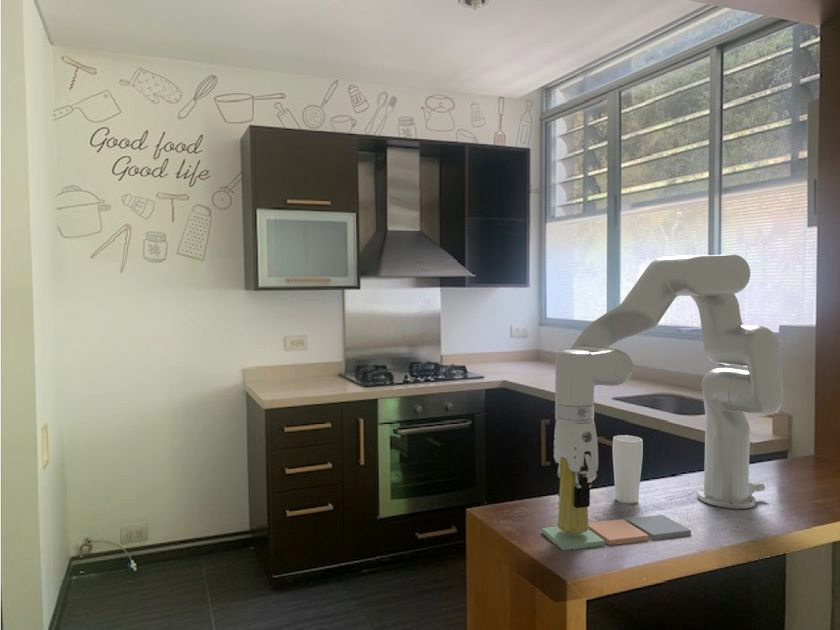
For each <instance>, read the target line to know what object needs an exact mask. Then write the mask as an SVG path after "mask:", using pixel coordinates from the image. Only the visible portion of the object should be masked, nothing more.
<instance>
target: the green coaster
mask: <svg viewBox="0 0 840 630" xmlns="http://www.w3.org/2000/svg"><path fill="white" fill-rule="evenodd" d="M541 534H543V535H544V536H545V537H546V538H548V539H549V541H551V542H552V543H553V544H554V545H555V546H557V547H558V548H560V549H561V550H562V551H570V550H571V549H573V550H578V549H579V548H581V549H588V547H589V548H597V547H603V546H605V544H606V543H605V540H603V539H602V538H600V537H599V536H597V535H596V534H595V533H593V532H592V531H590V530H589V529H588V530H587V531H586V532H583V533H569V532H565V531H563V530H561V529H559V528H558V525H556V526H550V527H542V528H541ZM579 550H580V549H579ZM571 551H572V550H571Z"/></svg>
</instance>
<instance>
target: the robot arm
mask: <svg viewBox="0 0 840 630" xmlns="http://www.w3.org/2000/svg"><path fill="white" fill-rule="evenodd" d="M750 278H751V268H750V265H749V264H748V261H747V260H746V259H745V258H744V257H742V256H740V255H738V254H732V253H730V254H715V255H714V254H712V255H706V254H705V255H703V254H701V255H699V254H697V255H696V254H695V255H694V254H693V255H674V256H662V257H658V258H656V259H654V260H653V261H651V262H650V263H649V264H648V265H647V267H646V268H645V270H644V271H643V273H642V274H641V275H640V277H639V278H638V279H637V281H636V283H634V286H633V287H632V288H631V290H630V291H629V292H628V293H627V295H626V297H625V298H624V300H623V301H622V302H621V303H619V304H618V305H617V306H615V307H614V308H612V309H610V310H608V311H607V312H606V313H604V314H602V315H601V316H600V317H598V318H596V319H595V320H594V321H592V322H591V323H590V324H588V325H587V326H586V327H585V328H584V329H583V331H582V332H581V333H580V334H579V336H578V337H577V338H576V339H575V341H574V342H573V344H572V346H571V347H570V349H565V350H560V351H558V353H557V354H556V356H555V377H554V379H555V384H554V385H555V388H554V389H555V392H554V393H555V394H554V395H555V397H554V399H555V401H554V403H555V404H554V405H555V406H554V408H555V409H554V414H555V415H554V418H555V425H554V436H553V437H554V438H553V458H554V461H555V465H556V469H557V477H558V479H557V480H558V482H557V483H558V485H557V487H558V488H557V489H558V497H559V492H560V457H562V458H563V459H565V460H567V462H568V467H569V470H571V471H573V472H574V476H575V482H576V487H574V507H575V508H582V507H587V508H588V507H590V505H591V503H590V502H591V498H590V497H591V492H590V491H591V488H592V484H593V482H594V480H596V479H597V477H598V474H597V473H598V469H599V446H598V436H597V429H596V422H595V386H607V387H615V386H616V387H617V386H622V385H623V384H625V383H626V382H627V381H629V379H631V377H632V374H633V373H634V363H633V360H632V358H631V357H630V356H629V355H628V353H626V352H624V351H622V350H620V349H616V348H610V347H611V346H613V345H614V344H616V343H618V342H619V341H622V340H625V339H627V338H630V337H633V336H638V335H640V334H644V333H646V332H648V331H651V330H653V329H654V328H656V327H657V326H658V325H659V323H660V321H661V319H662V318H663V317H664V315H665V314H666V312H667V311H668V310H669V308H670V306H671V305H672V304H673V302H674V301H675V300H676V298H677V297H681V296H684V297H686V296H687V297H689V296H690V297H691V298H692V300H693V301H694V302H695V304H696V305H697V309H698V313H699V319H700V326H701V327H700V328H701V334H702V343H703V350H704V353H705V357H706V358H707V360H709V361H711V362H712V363H715V364H721V365H726V366H727V365H728V366H736V367H743V368H747V370H746V369H739V368H731V367H717V368H712V369H711V370H709V371H708V372H706V373H705V375H704V376H703V378H702V380H701V395H702V396H701V397H702V401H703V406H704V415H705V416H704V417H705V423H704V424H705V427H704V428H705V431H704V468H703V470H704V471H703V473H704V475H703V476H704V478H703V479H704V480H703V482H704V483H703V488H699V489H698V490H697V492H696V497H697V498H698V500H699V501H701V502H703V503H705V504H709V505H712V506H716V507H719V508H723V509H724V508H726V509H733V510H734V509H735V510H742V509H743V510H744V509H745V510H746V509H751V508H753V507H755V506H756V504H757V502H756V501H757V500H756V498H755V496H753V494H754V493H755V492H764V491H765V490H766V486H765V484H764V483H763V482H756V483H755V482H754V483H753V482H751V481H749V480H750V446H751V445H750V441H751V429H750V423H749V422H748V419H747V417H746V415H745V413H749V414H756V415H761V416H771V415H774V414H777V413H778V412H779V410H780V409H781V407H782V405H783V401H784V396H785V394H784V393H785V392H784V391H785V390H784V389H785V388H784V377H783V370H782V369H783V368H782V366H783V365H782V358H781V357H782V356H781V349H780V344H779V343H780V342H779V341H778V338H777V336H776V334H775V333H774V332H773V331H772V329H770V328H768V327H765V326H762V325H753V324H744V323H743V321H742V316H741V309H740V303H739V300H738V297H737V296H736V294H738V293H740V292H741V291H743V290H744V289H745V288H746V287H747V285H748V284H749V282H750ZM580 468H584V470H585V471H581V470H580ZM580 474H584V475H585V477H583V478H582V479H581V480H580Z"/></svg>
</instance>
